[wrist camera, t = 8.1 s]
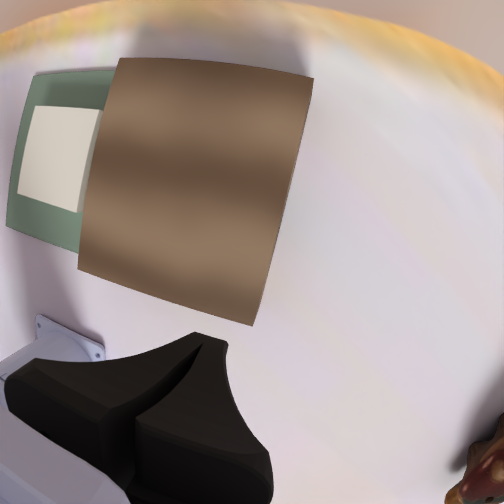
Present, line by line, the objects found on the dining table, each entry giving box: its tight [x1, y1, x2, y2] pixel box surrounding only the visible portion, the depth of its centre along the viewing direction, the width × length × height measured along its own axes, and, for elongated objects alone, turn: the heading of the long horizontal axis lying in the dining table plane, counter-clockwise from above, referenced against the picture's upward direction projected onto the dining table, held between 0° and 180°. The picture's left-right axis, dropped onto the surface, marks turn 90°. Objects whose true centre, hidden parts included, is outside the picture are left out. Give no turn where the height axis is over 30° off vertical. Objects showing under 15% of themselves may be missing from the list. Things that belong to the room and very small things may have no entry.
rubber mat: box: [6, 71, 115, 254], centre depth 21 cm, size 14×12×1 cm
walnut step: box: [78, 58, 314, 326], centre depth 18 cm, size 14×12×3 cm
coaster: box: [17, 106, 103, 213], centre depth 19 cm, size 7×7×2 cm
